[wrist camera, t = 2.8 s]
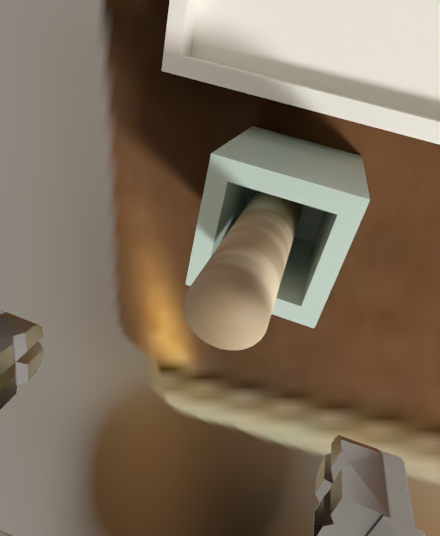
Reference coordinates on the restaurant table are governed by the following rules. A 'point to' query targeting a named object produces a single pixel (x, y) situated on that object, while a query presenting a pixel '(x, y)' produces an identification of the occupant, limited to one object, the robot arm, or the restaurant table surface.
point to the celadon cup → (294, 189)
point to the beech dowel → (243, 275)
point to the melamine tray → (318, 56)
